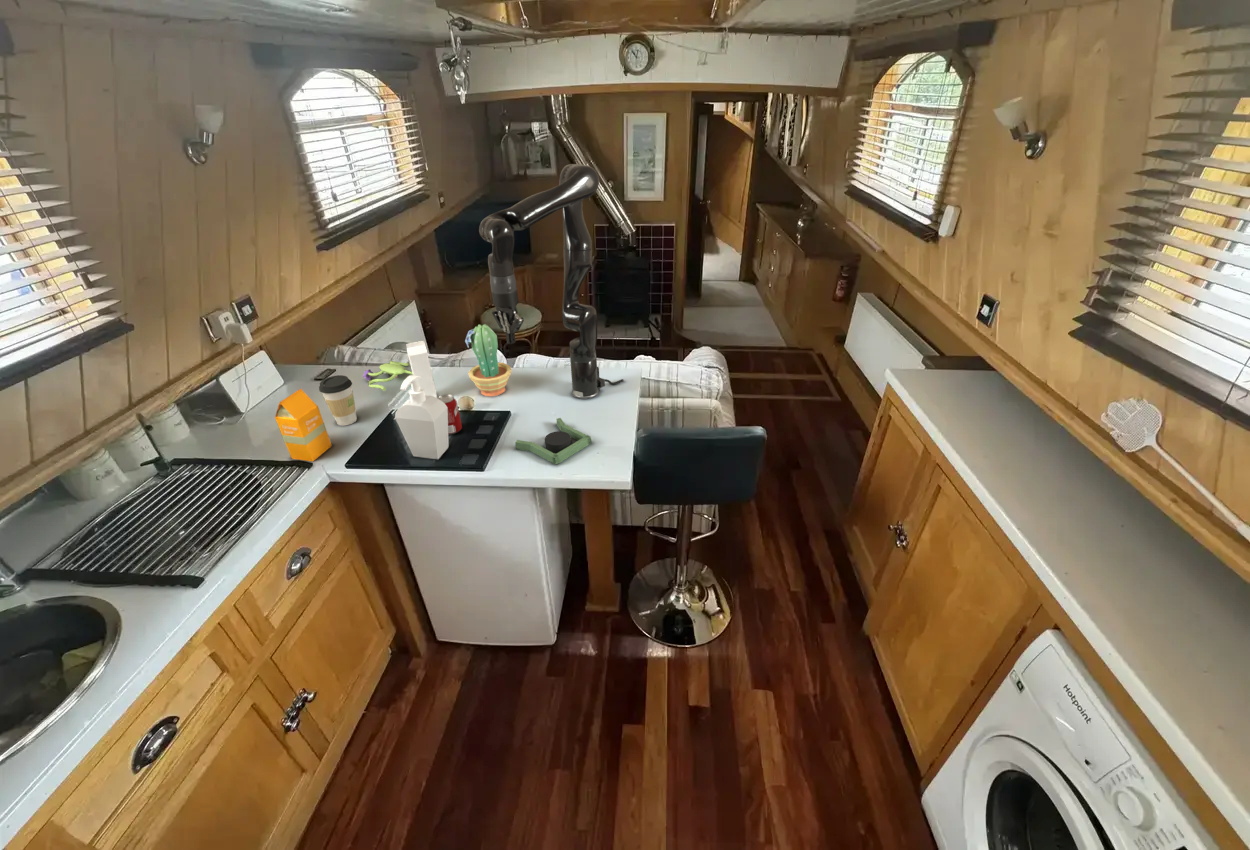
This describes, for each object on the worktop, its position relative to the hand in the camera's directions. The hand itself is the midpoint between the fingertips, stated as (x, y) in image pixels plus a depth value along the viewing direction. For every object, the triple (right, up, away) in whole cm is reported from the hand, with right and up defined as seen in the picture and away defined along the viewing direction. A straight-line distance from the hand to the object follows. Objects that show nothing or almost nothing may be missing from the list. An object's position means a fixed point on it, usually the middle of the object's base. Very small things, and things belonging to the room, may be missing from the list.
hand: (511, 343), depth 173 cm
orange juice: (-61, -34, -2) cm, 70 cm away
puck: (+15, -32, -1) cm, 36 cm away
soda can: (-21, -28, +8) cm, 36 cm away
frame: (+14, -32, 0) cm, 35 cm away
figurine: (-53, -9, +39) cm, 66 cm away
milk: (-35, -16, +26) cm, 47 cm away
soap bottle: (-24, -34, -3) cm, 42 cm away
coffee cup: (-58, -24, +14) cm, 65 cm away
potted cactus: (-13, -13, +31) cm, 36 cm away
